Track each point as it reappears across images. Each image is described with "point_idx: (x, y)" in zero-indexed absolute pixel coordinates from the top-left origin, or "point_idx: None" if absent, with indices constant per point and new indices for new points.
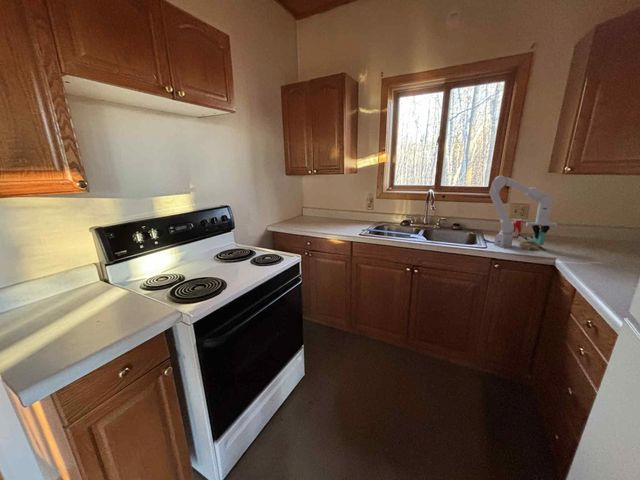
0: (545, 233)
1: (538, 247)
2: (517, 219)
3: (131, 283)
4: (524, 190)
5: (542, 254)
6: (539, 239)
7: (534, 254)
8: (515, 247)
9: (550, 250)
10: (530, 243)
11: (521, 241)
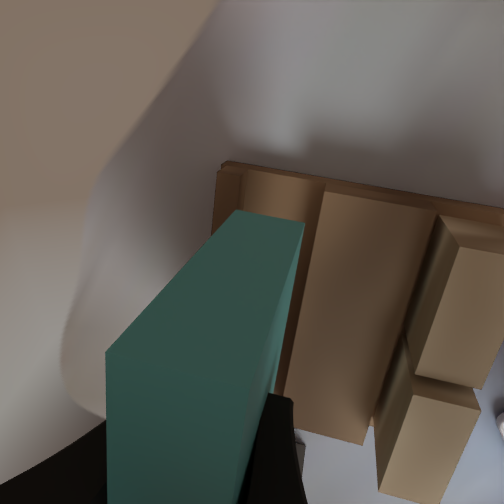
0: (122, 346)
1: None
2: None
3: None
4: None
5: (339, 38)
6: (284, 304)
7: (482, 27)
8: (494, 403)
9: (120, 250)
10: None
11: (449, 465)
